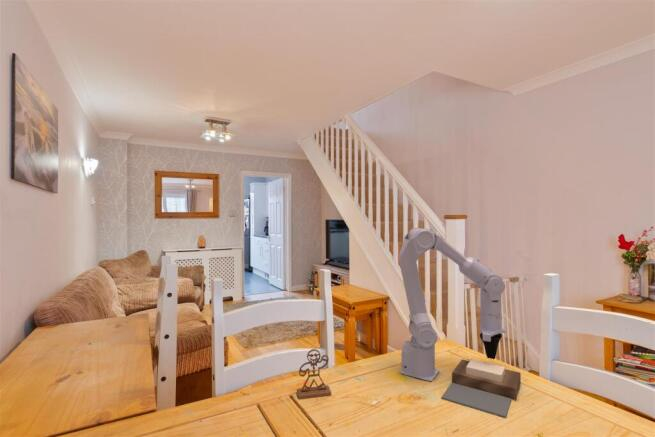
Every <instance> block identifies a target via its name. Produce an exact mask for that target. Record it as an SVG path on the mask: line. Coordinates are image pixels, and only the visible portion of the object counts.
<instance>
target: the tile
mask: <svg viewBox="0 0 655 437" xmlns="http://www.w3.org/2000/svg"><path fill="white" fill-rule="evenodd" d="M469 361H470V362H469V363H468V365H467V366H466V374H469V375H473V376H477V377H481V378H485V379H489V380H493V381H497V382H501V383H502V381H503V378H504V375H505V369H506V367H505V366H501V365H497V364H493V363H489V362H483V361H478V360H476V359H470V360H469Z"/></svg>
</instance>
